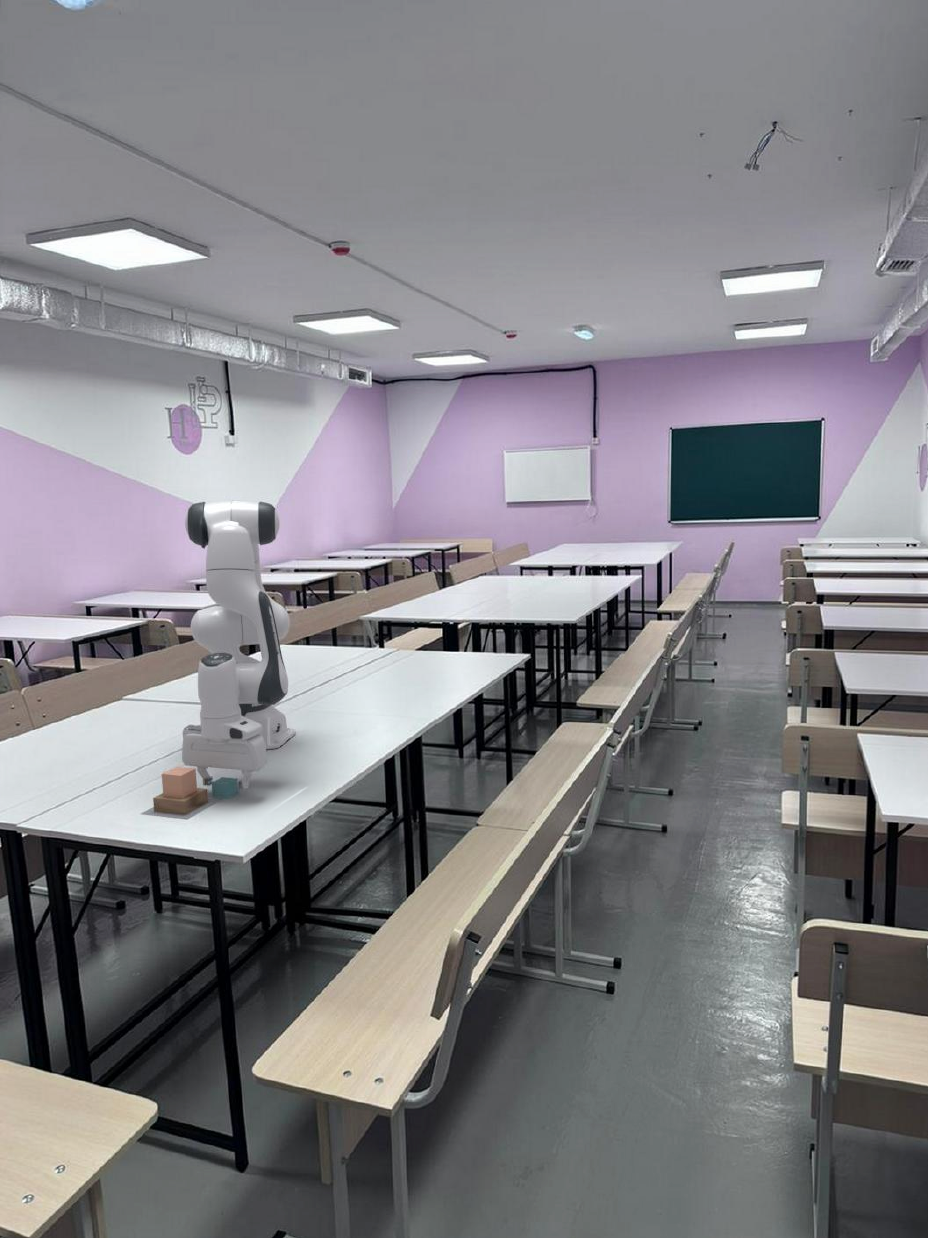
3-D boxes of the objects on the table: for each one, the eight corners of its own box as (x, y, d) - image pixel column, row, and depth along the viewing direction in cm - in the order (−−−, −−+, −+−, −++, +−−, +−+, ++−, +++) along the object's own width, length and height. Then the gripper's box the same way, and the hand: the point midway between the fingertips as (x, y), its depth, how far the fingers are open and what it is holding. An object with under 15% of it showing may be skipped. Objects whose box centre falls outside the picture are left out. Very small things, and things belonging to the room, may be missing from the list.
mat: (176, 797, 191) (176, 794, 191) (221, 802, 187) (221, 799, 187) (140, 816, 180) (140, 814, 180) (187, 822, 176) (187, 819, 176)
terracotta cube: (178, 788, 186) (176, 766, 185) (197, 790, 184) (195, 768, 184) (163, 796, 181) (161, 773, 181) (182, 798, 180) (181, 775, 179)
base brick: (178, 798, 188) (177, 785, 188) (208, 801, 186) (207, 788, 185) (154, 811, 181) (153, 798, 180) (185, 815, 178) (184, 801, 178)
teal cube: (223, 793, 193) (222, 777, 192) (238, 795, 191) (237, 778, 191) (212, 799, 189) (211, 782, 188) (228, 801, 188) (227, 784, 187)
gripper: (173, 727, 188) (178, 787, 190) (252, 732, 181) (256, 794, 183) (191, 720, 194) (195, 778, 196) (268, 725, 187) (272, 785, 189)
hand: (225, 786), depth 189 cm, fingers open, 8 cm apart
